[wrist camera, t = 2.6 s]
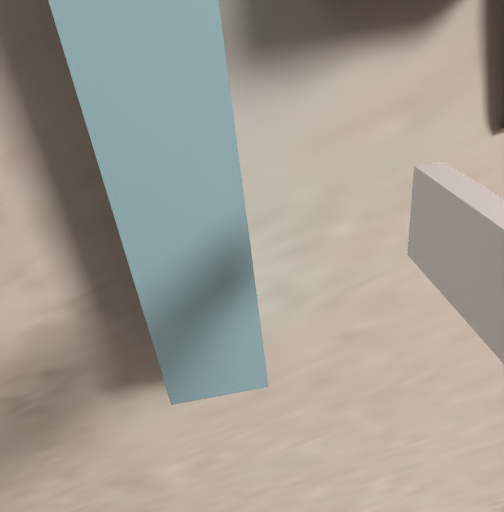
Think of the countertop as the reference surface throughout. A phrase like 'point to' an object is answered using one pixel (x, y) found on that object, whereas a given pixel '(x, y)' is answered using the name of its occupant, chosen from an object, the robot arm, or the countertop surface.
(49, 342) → the countertop surface
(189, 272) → the bar
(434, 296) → the countertop surface
